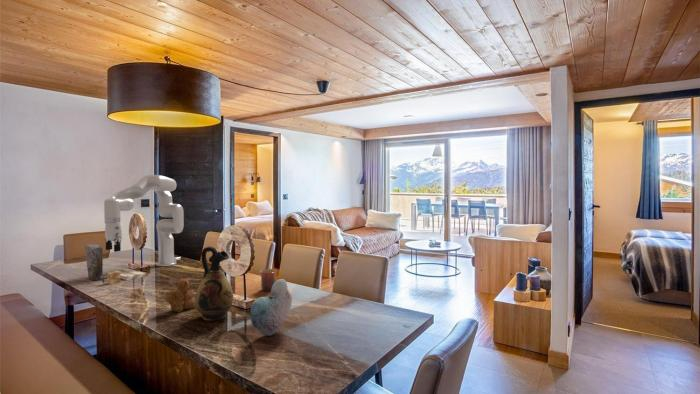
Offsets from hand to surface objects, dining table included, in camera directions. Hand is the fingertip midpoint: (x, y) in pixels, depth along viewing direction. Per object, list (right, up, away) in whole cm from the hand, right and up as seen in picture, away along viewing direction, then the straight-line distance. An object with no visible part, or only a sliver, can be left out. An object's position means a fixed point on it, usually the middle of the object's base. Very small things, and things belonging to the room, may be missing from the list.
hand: (113, 250), depth 205 cm
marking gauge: (-1, -19, -1) cm, 19 cm away
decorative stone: (+105, -22, -68) cm, 127 cm away
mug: (+92, -19, -10) cm, 94 cm away
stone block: (-17, -18, +10) cm, 27 cm away
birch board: (-2, -18, +16) cm, 24 cm away
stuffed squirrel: (+58, -21, -41) cm, 74 cm away
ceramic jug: (+76, -21, -51) cm, 94 cm away
